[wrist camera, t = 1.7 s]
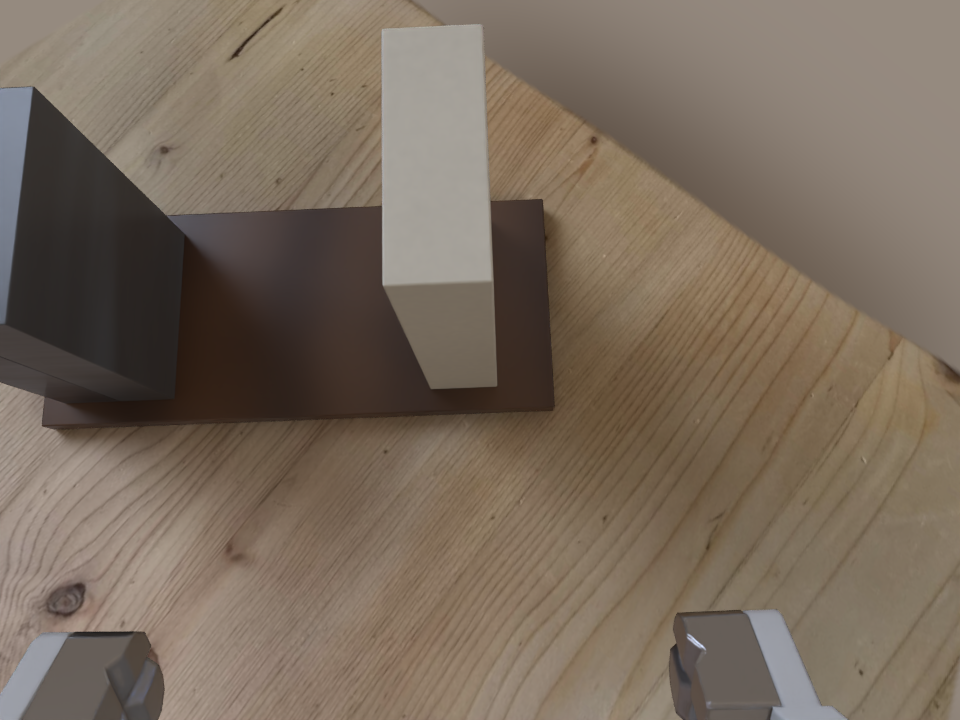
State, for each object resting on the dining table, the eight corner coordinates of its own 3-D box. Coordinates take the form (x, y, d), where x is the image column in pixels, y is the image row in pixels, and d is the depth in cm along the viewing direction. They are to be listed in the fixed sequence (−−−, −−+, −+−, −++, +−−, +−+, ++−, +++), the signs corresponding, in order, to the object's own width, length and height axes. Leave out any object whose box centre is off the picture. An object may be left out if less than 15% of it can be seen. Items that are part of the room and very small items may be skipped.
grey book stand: (541, 207, 37) (561, 33, 24) (553, 410, 35) (582, 334, 22) (73, 227, 38) (-145, 67, 25) (53, 429, 35) (-199, 365, 23)
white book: (490, 220, 36) (483, 22, 22) (497, 387, 34) (493, 282, 20) (427, 223, 36) (380, 27, 22) (430, 389, 34) (381, 286, 20)
